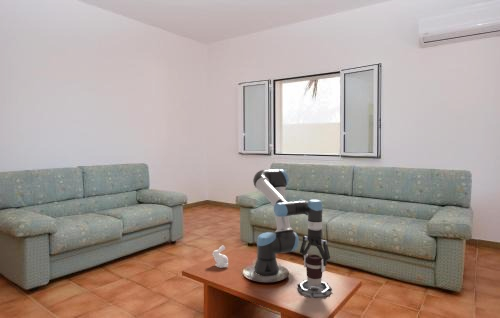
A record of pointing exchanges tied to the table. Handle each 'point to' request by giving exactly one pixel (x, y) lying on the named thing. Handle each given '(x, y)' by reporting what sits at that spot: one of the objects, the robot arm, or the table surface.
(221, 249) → the rabbit
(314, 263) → the coffee cup
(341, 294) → the table surface
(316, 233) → the robot arm
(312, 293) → the grey flat octagonal tray
